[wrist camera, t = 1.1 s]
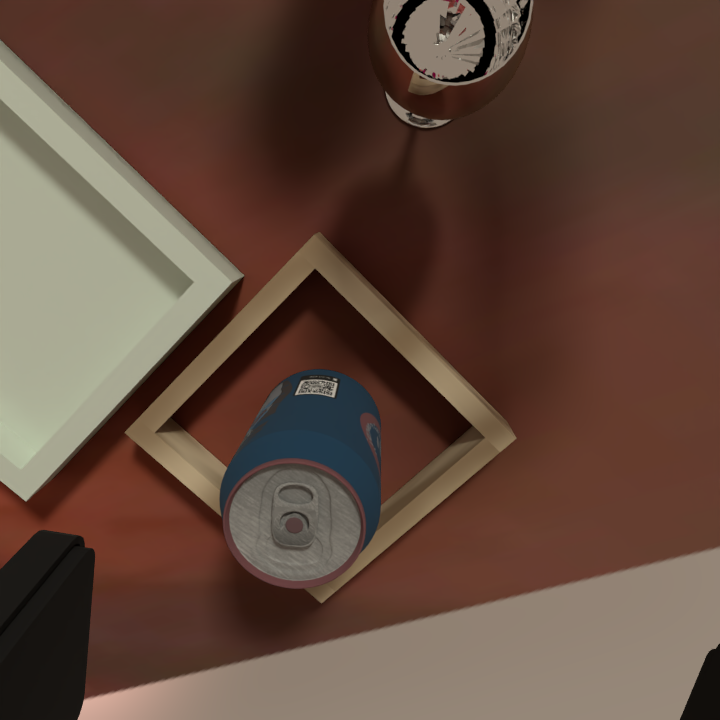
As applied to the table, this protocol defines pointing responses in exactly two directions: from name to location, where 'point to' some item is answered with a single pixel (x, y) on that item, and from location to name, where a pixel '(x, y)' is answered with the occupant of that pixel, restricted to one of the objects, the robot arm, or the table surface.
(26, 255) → the sage dish
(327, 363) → the table surface
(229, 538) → the soda can
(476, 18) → the wineglass
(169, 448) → the oak frame
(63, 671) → the robot arm
